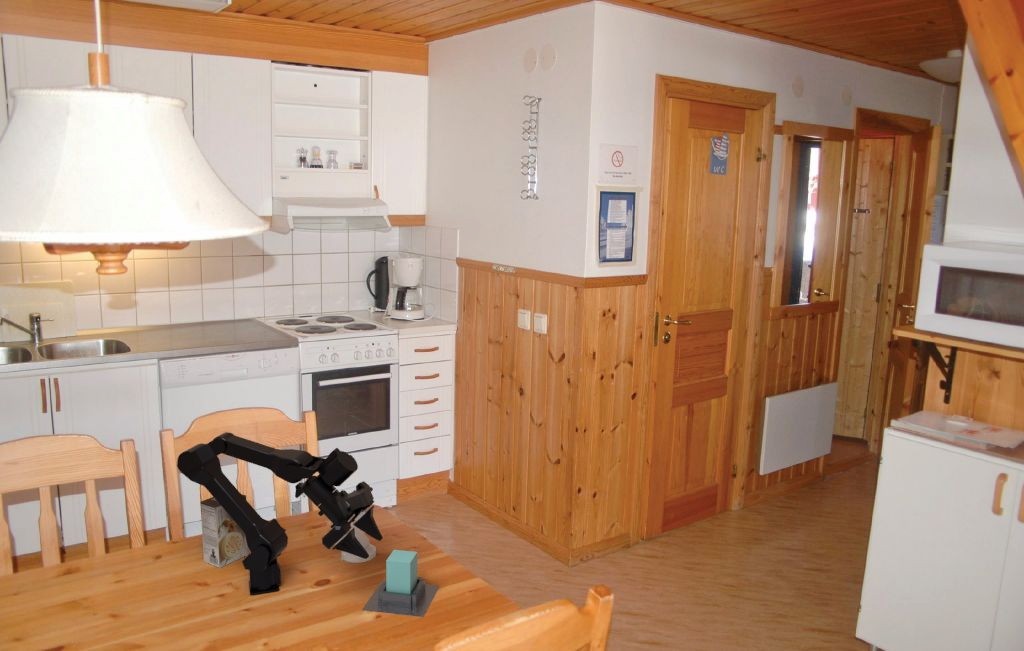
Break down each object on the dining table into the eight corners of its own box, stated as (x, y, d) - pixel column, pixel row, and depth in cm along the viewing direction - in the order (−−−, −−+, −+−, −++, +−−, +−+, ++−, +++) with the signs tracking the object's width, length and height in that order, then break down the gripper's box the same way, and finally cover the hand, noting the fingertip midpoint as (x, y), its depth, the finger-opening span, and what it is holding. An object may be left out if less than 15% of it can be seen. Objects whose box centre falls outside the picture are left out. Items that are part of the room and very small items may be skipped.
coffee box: (233, 548, 204) (230, 489, 201) (249, 554, 200) (247, 495, 198) (202, 562, 196) (199, 501, 193) (219, 569, 193) (216, 506, 190)
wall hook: (356, 512, 204) (382, 522, 199) (356, 547, 206) (383, 558, 200) (330, 523, 198) (357, 533, 192) (330, 558, 199) (357, 570, 193)
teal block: (386, 602, 176) (386, 560, 175) (394, 590, 182) (393, 549, 180) (410, 604, 175) (410, 562, 174) (417, 592, 181) (417, 551, 179)
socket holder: (361, 615, 173) (361, 597, 172) (382, 584, 187) (382, 567, 186) (423, 622, 171) (423, 604, 170) (439, 590, 184) (439, 573, 184)
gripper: (334, 491, 167) (385, 544, 167) (365, 462, 185) (410, 510, 185) (300, 523, 169) (350, 576, 169) (334, 491, 187) (379, 539, 187)
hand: (374, 548), depth 178 cm, fingers open, 9 cm apart
